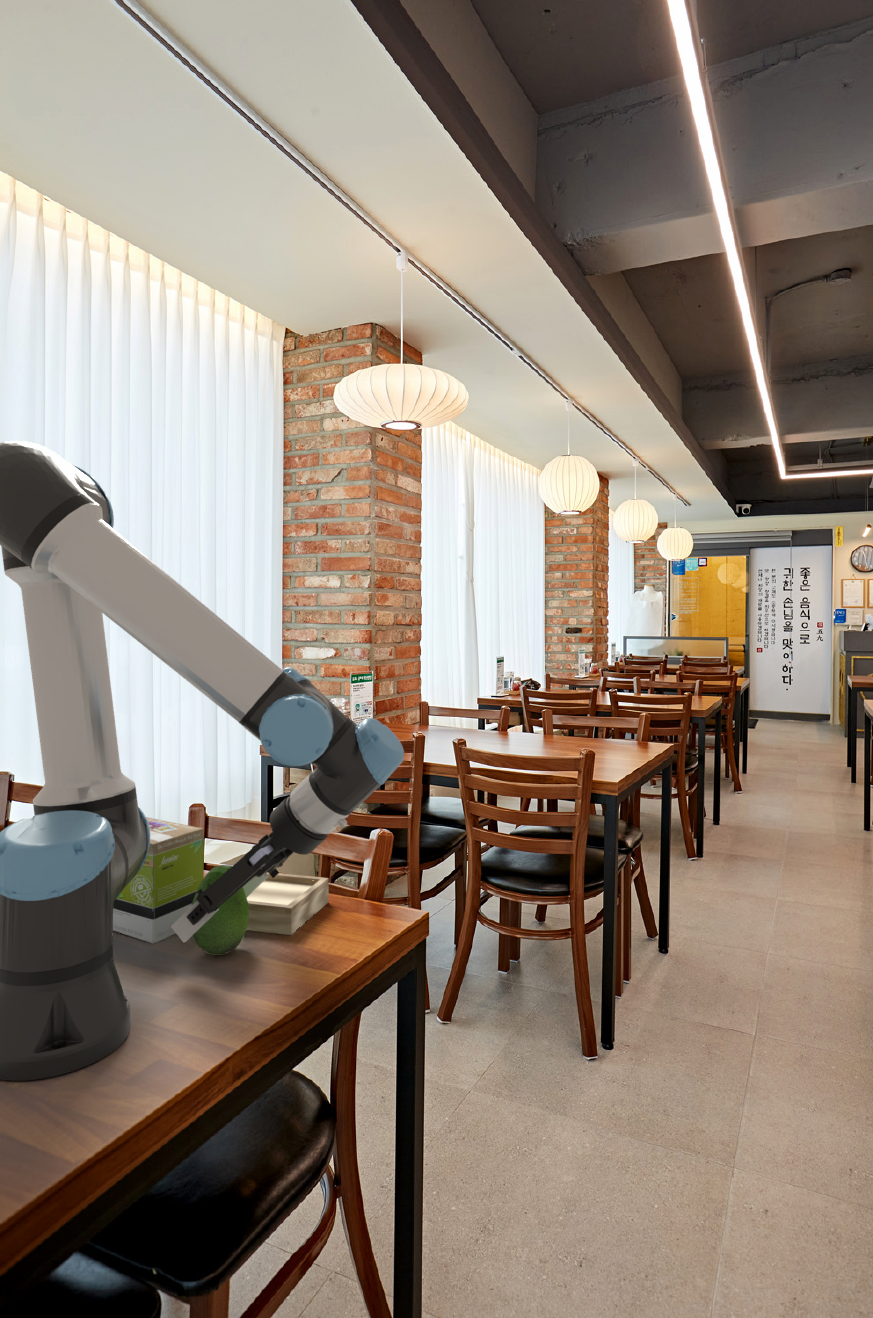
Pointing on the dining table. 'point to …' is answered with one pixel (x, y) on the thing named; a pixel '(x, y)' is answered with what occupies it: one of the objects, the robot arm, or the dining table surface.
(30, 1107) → the dining table surface
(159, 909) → the tea box
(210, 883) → the avocado
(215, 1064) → the dining table surface
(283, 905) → the wooden tray
